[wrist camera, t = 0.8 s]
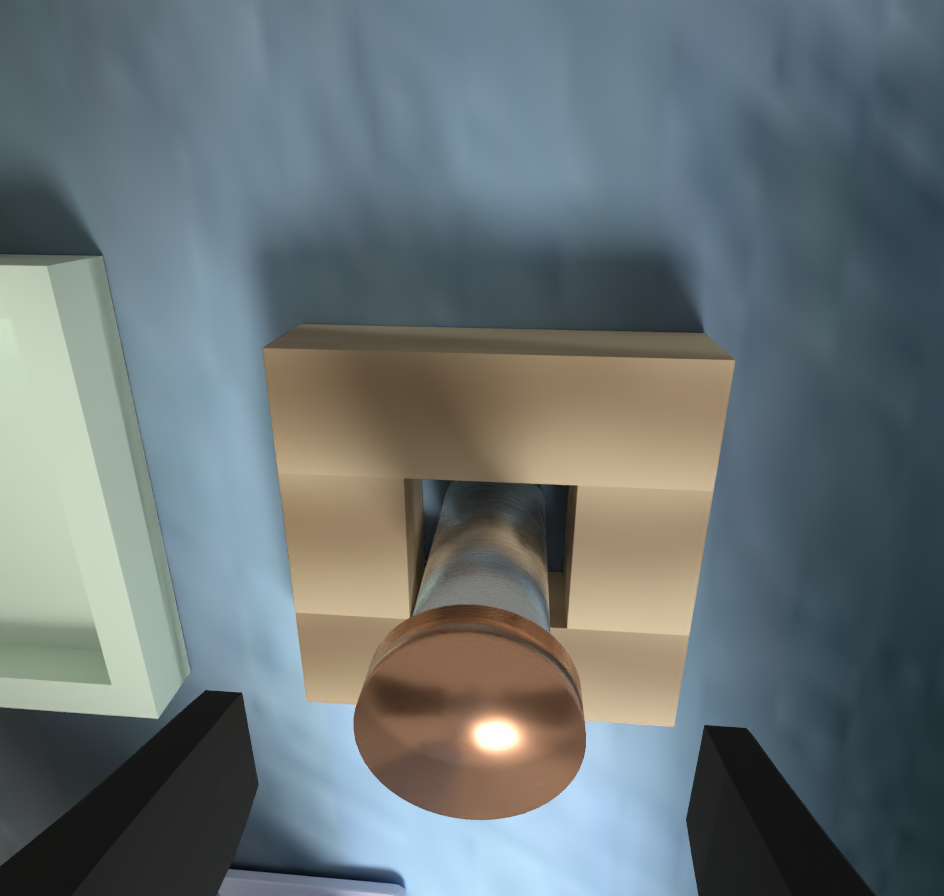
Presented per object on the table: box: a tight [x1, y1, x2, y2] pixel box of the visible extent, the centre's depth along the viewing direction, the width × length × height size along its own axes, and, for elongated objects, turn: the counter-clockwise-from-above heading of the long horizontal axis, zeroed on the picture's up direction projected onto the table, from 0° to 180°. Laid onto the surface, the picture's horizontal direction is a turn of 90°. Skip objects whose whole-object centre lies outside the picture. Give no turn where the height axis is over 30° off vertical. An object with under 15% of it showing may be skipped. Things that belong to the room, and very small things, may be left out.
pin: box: [354, 480, 586, 820], centre depth 14 cm, size 4×4×8 cm
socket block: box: [262, 324, 735, 727], centre depth 17 cm, size 10×10×2 cm
